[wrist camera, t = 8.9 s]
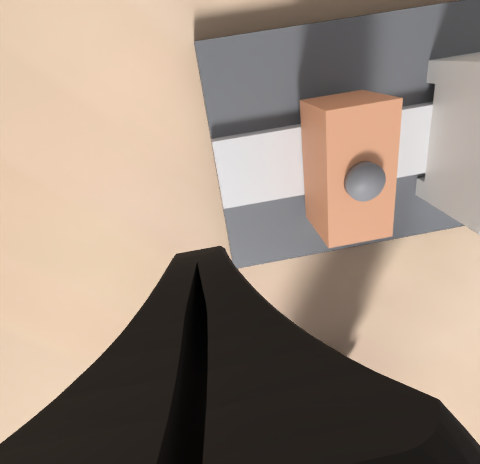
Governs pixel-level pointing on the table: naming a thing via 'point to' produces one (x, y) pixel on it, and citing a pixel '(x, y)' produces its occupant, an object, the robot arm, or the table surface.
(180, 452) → the robot arm
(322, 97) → the block with grey knob
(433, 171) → the block
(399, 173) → the din rail
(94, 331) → the table surface
